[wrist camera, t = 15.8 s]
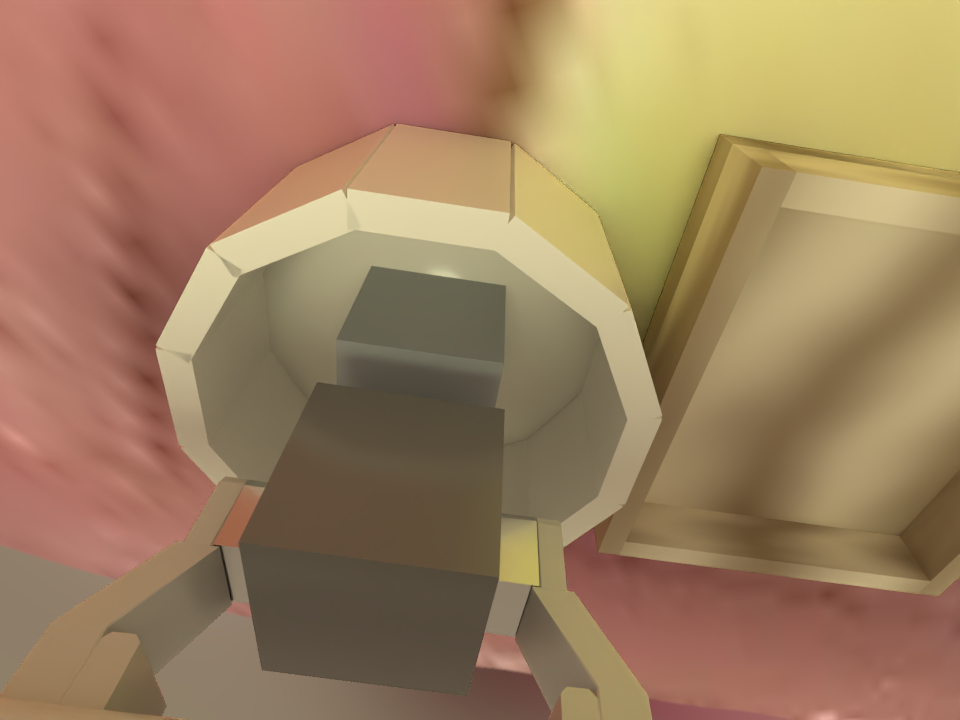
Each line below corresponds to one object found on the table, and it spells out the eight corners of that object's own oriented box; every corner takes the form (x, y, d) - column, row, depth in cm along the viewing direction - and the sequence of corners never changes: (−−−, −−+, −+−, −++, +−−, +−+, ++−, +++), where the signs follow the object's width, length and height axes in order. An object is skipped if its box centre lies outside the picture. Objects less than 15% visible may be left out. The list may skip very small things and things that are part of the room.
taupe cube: (505, 285, 16) (503, 363, 13) (486, 389, 19) (480, 478, 15) (371, 265, 16) (335, 339, 13) (368, 373, 19) (338, 459, 15)
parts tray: (1181, 208, 15) (1311, 253, 13) (893, 530, 23) (938, 596, 21) (720, 134, 15) (761, 166, 12) (588, 489, 23) (597, 552, 20)
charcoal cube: (504, 409, 12) (499, 577, 8) (479, 527, 14) (467, 696, 11) (316, 381, 12) (238, 541, 8) (322, 506, 14) (261, 669, 11)
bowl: (670, 166, 15) (736, 247, 11) (570, 469, 22) (584, 596, 18) (231, 97, 15) (107, 151, 10) (268, 429, 22) (204, 548, 17)
